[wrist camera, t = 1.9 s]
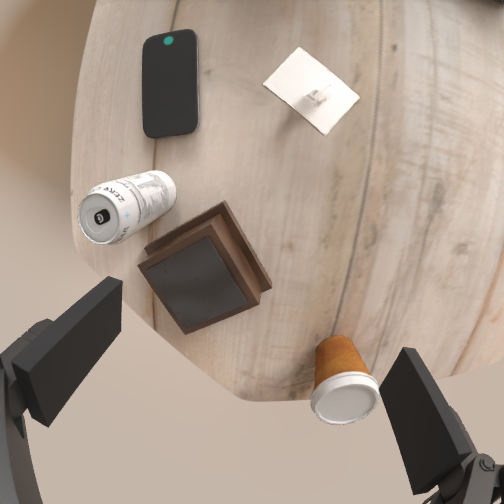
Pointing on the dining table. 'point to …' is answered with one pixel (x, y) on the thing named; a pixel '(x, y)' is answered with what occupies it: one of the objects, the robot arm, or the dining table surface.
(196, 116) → the smartphone
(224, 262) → the stand
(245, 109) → the dining table surface
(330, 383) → the disposable coffee cup
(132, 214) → the energy drink can
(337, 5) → the dining table surface
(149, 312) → the dining table surface
